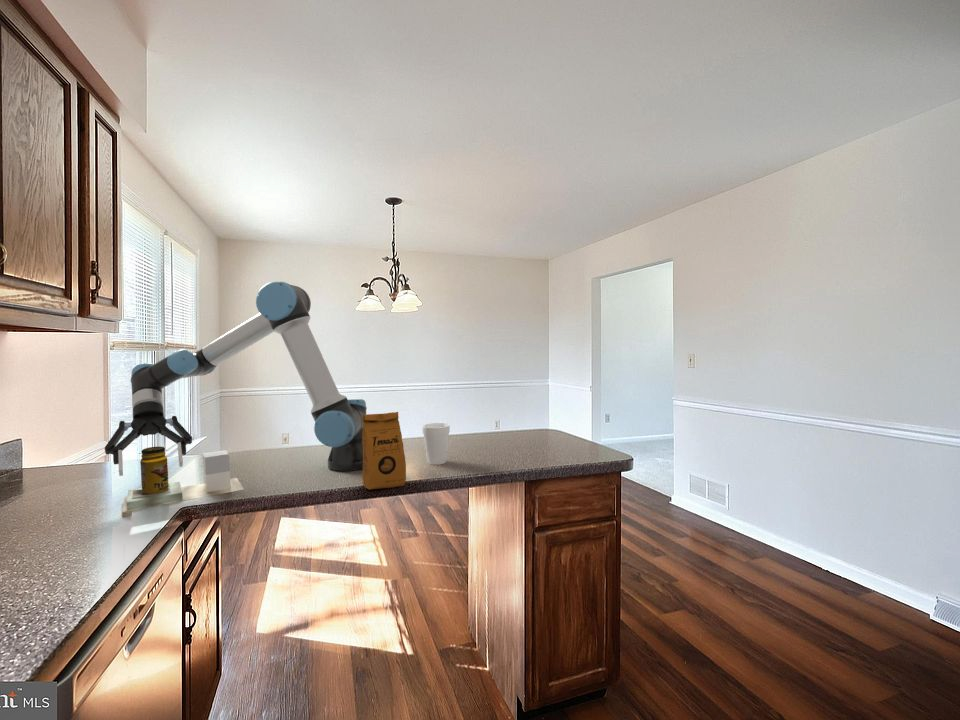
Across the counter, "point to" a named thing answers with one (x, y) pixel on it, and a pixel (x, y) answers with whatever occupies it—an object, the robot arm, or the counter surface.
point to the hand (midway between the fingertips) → (151, 468)
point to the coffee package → (383, 451)
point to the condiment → (153, 473)
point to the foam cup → (436, 442)
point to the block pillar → (216, 470)
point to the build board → (192, 494)
